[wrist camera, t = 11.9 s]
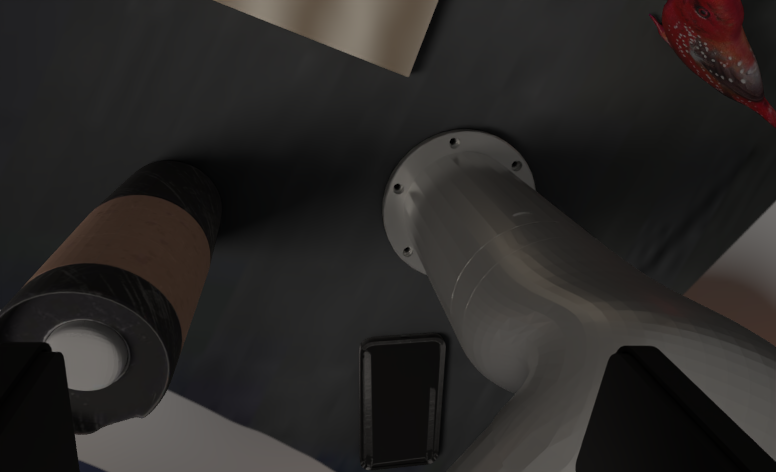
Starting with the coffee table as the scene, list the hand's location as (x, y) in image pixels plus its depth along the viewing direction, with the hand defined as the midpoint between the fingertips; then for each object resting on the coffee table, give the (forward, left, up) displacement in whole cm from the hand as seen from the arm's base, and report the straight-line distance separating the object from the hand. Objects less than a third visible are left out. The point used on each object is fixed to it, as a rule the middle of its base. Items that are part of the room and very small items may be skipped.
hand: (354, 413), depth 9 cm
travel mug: (+7, +11, -34) cm, 36 cm away
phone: (-17, +24, -34) cm, 45 cm away
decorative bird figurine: (-26, -13, -34) cm, 44 cm away
